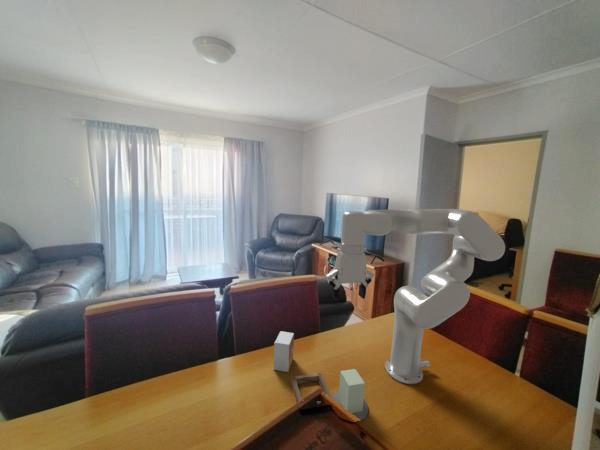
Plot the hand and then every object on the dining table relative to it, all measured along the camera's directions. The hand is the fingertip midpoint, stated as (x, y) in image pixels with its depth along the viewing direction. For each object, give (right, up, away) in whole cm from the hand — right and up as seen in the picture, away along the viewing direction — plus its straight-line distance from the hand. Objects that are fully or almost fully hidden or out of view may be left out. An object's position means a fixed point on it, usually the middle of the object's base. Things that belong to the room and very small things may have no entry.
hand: (348, 298), depth 87 cm
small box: (-23, -27, +7) cm, 36 cm away
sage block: (-2, -29, -10) cm, 31 cm away
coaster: (-2, -30, -10) cm, 31 cm away
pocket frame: (-13, -29, -6) cm, 32 cm away
